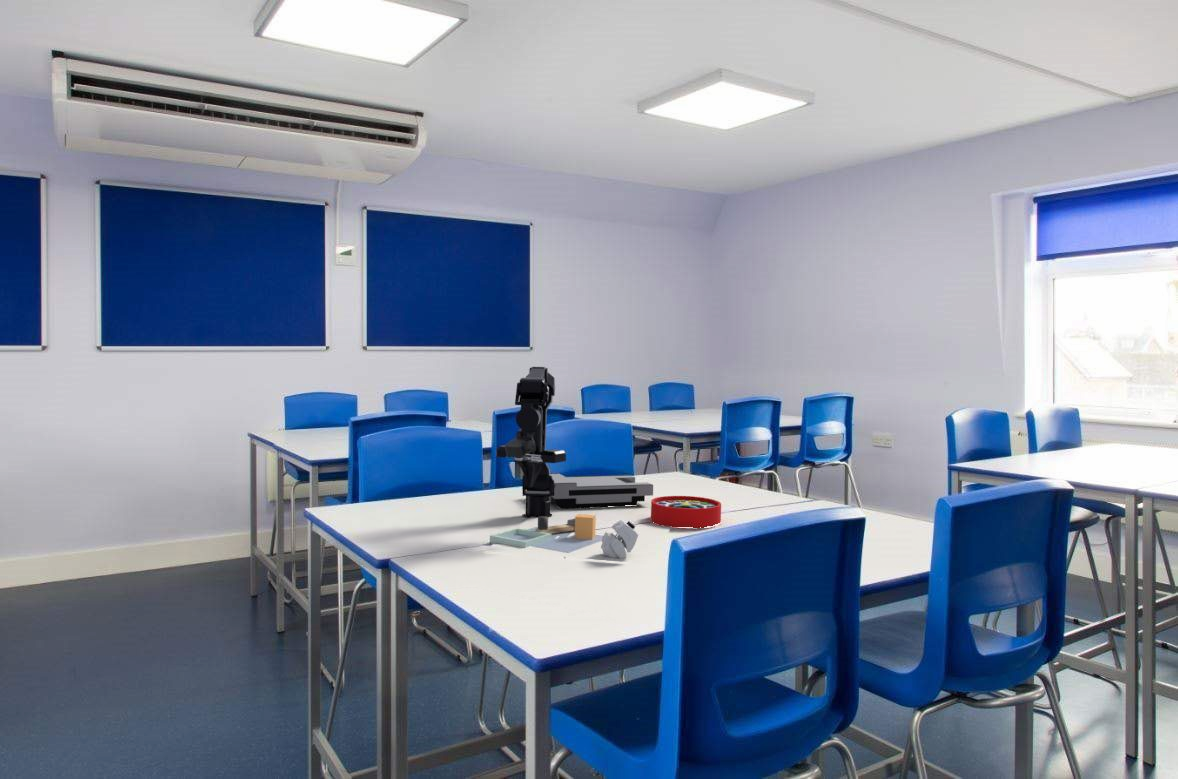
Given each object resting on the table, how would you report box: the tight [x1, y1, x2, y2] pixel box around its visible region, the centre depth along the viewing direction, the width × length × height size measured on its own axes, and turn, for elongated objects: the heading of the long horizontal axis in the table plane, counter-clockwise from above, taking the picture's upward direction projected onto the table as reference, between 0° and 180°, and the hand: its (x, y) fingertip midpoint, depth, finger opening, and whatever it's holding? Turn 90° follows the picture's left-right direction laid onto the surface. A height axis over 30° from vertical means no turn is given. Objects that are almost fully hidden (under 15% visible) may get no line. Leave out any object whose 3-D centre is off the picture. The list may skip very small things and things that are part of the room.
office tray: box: [547, 472, 654, 510], centre depth 257 cm, size 21×32×8 cm, turn 108°
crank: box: [535, 516, 575, 534], centre depth 210 cm, size 15×5×4 cm, turn 128°
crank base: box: [506, 526, 603, 554], centre depth 204 cm, size 22×20×1 cm
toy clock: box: [650, 495, 722, 528], centre depth 231 cm, size 20×6×20 cm
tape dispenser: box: [600, 519, 639, 559], centre depth 188 cm, size 6×7×10 cm
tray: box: [489, 527, 552, 548], centre depth 201 cm, size 11×11×2 cm
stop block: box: [574, 513, 597, 539], centre depth 205 cm, size 4×5×6 cm
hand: (529, 486), depth 208 cm, fingers closed
